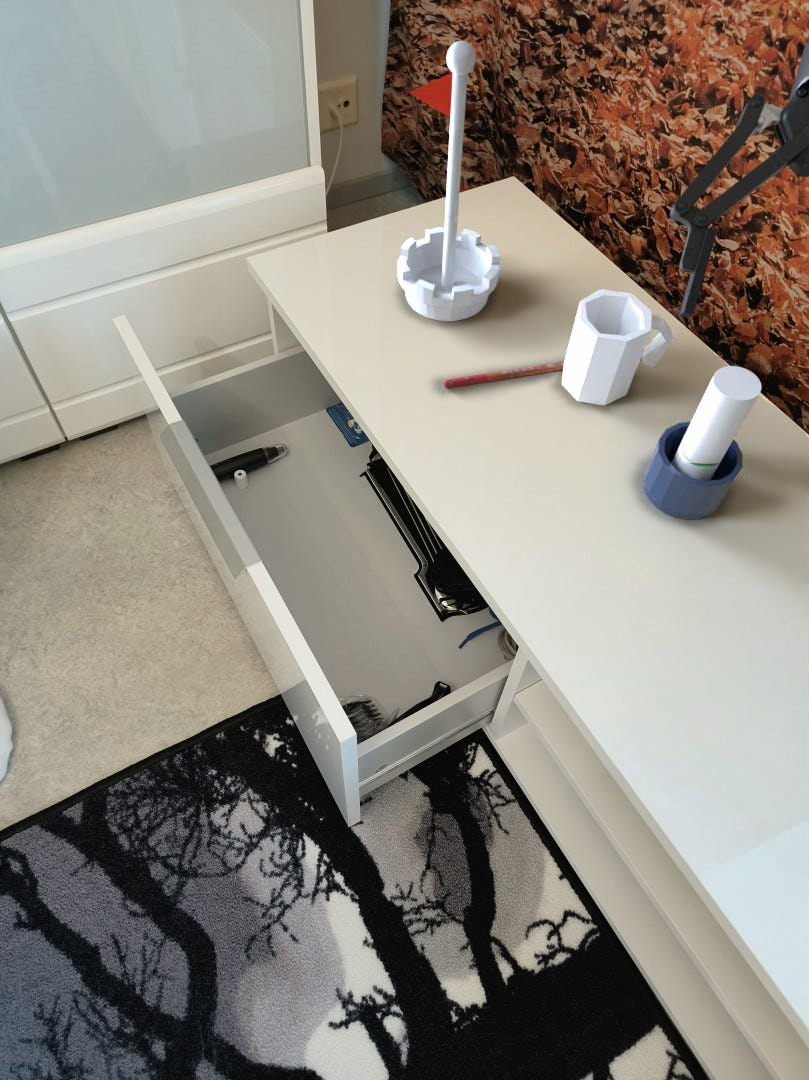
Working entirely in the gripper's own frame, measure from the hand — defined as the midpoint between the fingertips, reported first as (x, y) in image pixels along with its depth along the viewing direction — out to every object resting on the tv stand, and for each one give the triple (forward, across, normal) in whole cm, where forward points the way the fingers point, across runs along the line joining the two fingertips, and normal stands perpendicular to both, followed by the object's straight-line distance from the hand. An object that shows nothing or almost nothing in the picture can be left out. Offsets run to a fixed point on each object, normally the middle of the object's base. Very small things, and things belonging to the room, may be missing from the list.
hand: (770, 332), depth 60 cm
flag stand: (-1, +33, -34) cm, 48 cm away
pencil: (+7, +20, -26) cm, 34 cm away
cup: (+15, 0, -18) cm, 23 cm away
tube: (+15, 0, -17) cm, 23 cm away
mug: (+5, +10, -28) cm, 30 cm away
